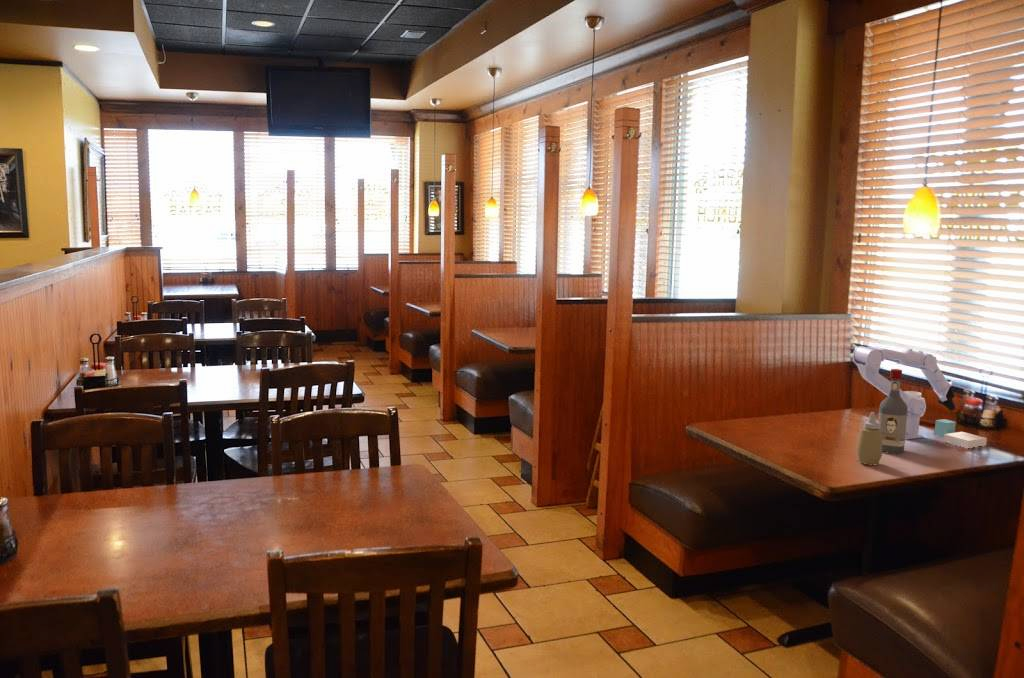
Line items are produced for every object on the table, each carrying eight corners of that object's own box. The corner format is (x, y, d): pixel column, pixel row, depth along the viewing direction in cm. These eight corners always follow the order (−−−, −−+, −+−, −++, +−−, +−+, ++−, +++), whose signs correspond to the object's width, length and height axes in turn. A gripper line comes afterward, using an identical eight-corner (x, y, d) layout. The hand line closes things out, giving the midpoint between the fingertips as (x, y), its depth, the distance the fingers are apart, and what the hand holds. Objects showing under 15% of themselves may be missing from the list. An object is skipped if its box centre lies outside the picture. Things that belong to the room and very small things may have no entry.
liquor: (877, 445, 299) (883, 366, 295) (904, 449, 295) (910, 369, 291) (875, 451, 291) (881, 370, 287) (903, 455, 287) (910, 373, 283)
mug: (897, 419, 340) (900, 391, 338) (908, 418, 342) (911, 390, 340) (918, 425, 330) (921, 396, 329) (929, 423, 333) (932, 395, 331)
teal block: (945, 438, 311) (946, 423, 310) (934, 435, 315) (935, 420, 315) (954, 437, 313) (955, 422, 312) (943, 433, 317) (944, 419, 317)
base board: (967, 448, 296) (968, 440, 296) (943, 441, 306) (944, 434, 305) (985, 445, 300) (986, 438, 300) (961, 439, 309) (962, 431, 309)
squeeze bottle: (884, 463, 278) (889, 412, 275) (877, 468, 272) (881, 416, 269) (860, 458, 283) (864, 408, 280) (852, 463, 277) (856, 412, 274)
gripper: (947, 385, 304) (964, 411, 307) (945, 363, 315) (961, 389, 318) (928, 391, 308) (945, 417, 312) (927, 370, 319) (943, 395, 323)
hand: (952, 403), depth 315 cm, fingers open, 7 cm apart
